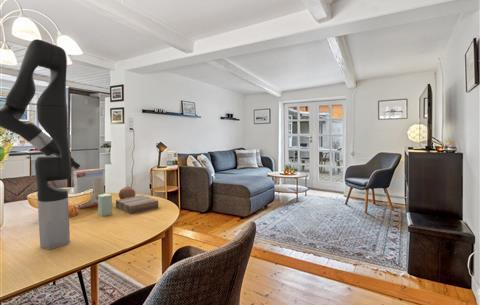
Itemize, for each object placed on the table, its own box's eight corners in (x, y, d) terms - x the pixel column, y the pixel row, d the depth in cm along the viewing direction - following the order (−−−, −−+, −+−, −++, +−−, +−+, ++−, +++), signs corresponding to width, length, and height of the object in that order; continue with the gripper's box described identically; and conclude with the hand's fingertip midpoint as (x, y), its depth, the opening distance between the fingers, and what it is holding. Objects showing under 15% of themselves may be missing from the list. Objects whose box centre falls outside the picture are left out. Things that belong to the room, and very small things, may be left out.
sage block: (112, 214, 136) (111, 195, 135) (102, 216, 132) (101, 196, 131) (108, 212, 139) (108, 193, 138) (98, 214, 135) (97, 195, 135)
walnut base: (158, 207, 148) (158, 200, 147) (130, 213, 136) (130, 206, 136) (142, 201, 160) (142, 195, 160) (116, 207, 148) (115, 200, 148)
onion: (126, 204, 164) (127, 189, 168) (138, 201, 161) (139, 186, 165) (114, 202, 156) (115, 186, 160) (126, 199, 153) (127, 183, 157)
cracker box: (100, 202, 158) (99, 168, 157) (104, 204, 154) (103, 169, 153) (74, 207, 148) (73, 170, 146) (78, 209, 144) (76, 171, 142)
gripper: (56, 137, 112) (86, 161, 121) (48, 136, 122) (77, 159, 131) (41, 150, 109) (74, 174, 118) (34, 148, 118) (65, 171, 128)
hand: (75, 166), depth 124 cm, fingers open, 8 cm apart
